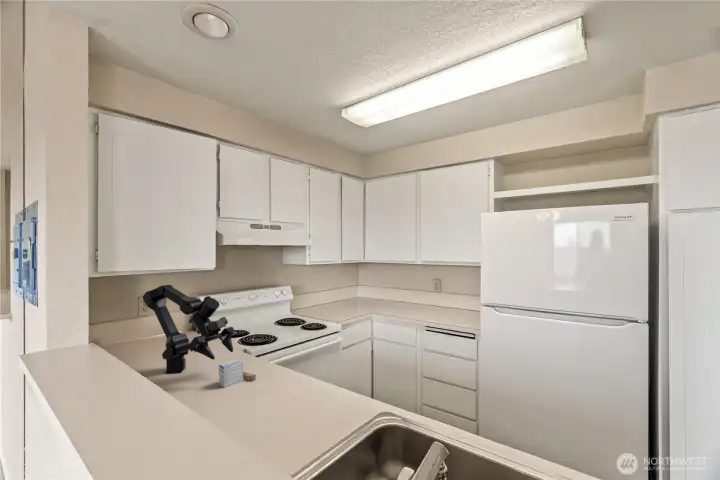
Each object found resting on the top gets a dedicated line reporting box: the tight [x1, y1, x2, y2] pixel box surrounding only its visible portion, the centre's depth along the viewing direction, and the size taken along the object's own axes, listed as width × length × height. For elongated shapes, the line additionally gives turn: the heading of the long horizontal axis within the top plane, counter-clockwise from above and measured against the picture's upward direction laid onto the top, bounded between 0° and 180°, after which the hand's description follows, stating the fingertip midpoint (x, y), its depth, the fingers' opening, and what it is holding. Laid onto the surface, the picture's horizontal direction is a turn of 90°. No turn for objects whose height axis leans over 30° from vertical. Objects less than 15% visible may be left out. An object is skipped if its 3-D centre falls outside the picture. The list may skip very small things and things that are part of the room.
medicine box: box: [218, 358, 244, 389], centre depth 130 cm, size 8×4×9 cm, turn 139°
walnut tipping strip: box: [243, 371, 257, 382], centre depth 135 cm, size 12×2×2 cm, turn 65°
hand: (223, 355), depth 132 cm, fingers open, 9 cm apart
